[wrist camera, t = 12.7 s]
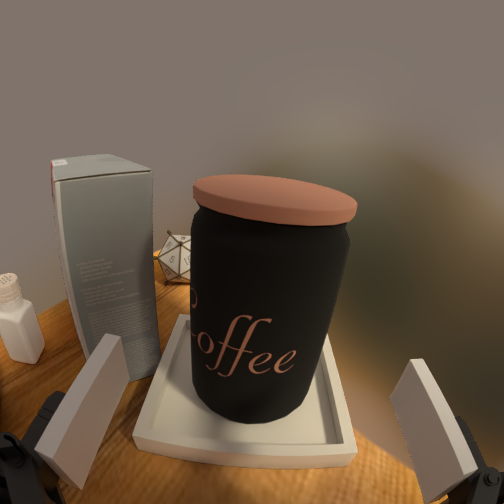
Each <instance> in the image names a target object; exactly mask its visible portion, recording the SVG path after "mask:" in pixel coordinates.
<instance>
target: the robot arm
mask: <svg viewBox="0 0 504 504" xmlns="http://www.w3.org/2000/svg"><path fill="white" fill-rule="evenodd" d="M129 380H130V377H129V373H128V369H127V364H126V360H125V355H124V351H123V346H122V341H121V336H116V335H112V334H107V333H105V335H104V336H103V338H102V339H101V341H100V342H99V344H98V345H97V347H96V348H95V350H94V351H93V353H92V354H91V356H90V357H89V359H88V360H87V362H86V363H85V365H84V366H83V368H82V369H81V371H80V373H79V374H78V376H77V377H76V379H75V380H74V382H73V384H72V385H71V387H70V388H69V390H68V392H67V393H66V394H65V393H62V392H60V391H55V392H54V393H53V394H51V395H50V396H49V397H48V398H47V399H46V401H45V402H44V404H43V405H42V409H40V410H39V412H38V413H37V416H36V417H35V418H34V420H33V422H32V423H31V425H30V427H29V428H28V430H27V432H26V433H25V435H24V437H23V439H22V440H21V442H20V441H19V440H18V439H17V437H16V436H15V435H14V434H11V433H9V432H2V433H0V504H66V502H65V499H64V497H63V494H62V492H61V489H60V486H59V484H58V483H57V482H58V480H59V478H61V479H62V480H63V481H64V482H65V483H66V484H68V485H71V486H73V487H75V488H78V489H80V490H82V489H83V486H84V484H85V481H86V479H87V476H88V474H89V471H90V469H91V466H92V464H93V461H94V459H95V456H96V454H97V452H98V449H99V447H100V445H101V442H102V440H103V438H104V435H105V433H106V431H107V428H108V426H109V424H110V421H111V419H112V417H113V415H114V413H115V410H116V408H117V406H118V404H119V401H120V399H121V397H122V395H123V393H124V391H125V388H126V386H127V384H128V382H129ZM389 399H390V401H391V404H392V406H393V409H394V412H395V414H396V417H397V420H398V423H399V425H400V428H401V431H402V434H403V437H404V439H405V442H406V445H407V448H408V451H409V454H410V457H411V460H412V463H413V467H414V470H415V473H416V476H417V479H418V483H419V486H420V489H421V493H422V496H423V500H424V503H425V504H429V503H432V502H434V501H437V500H440V499H441V498H442V497H444V496H445V495H446V494H447V495H448V498H447V499H446V500H445V501H443V502H442V503H440V504H503V503H504V472H499V471H498V470H497V469H495V468H493V467H487V466H486V464H485V462H484V459H483V457H482V455H481V453H480V450H479V448H478V446H477V444H476V442H475V441H474V438H473V436H472V434H470V433H471V432H470V430H469V428H468V426H467V424H466V423H465V421H464V420H463V419H462V418H460V416H458V417H454V416H453V414H452V412H451V410H450V408H449V406H448V404H447V402H446V400H445V398H444V396H443V394H442V392H441V391H440V389H439V387H438V385H437V383H436V381H435V380H434V378H433V376H432V374H431V372H430V371H429V369H428V367H427V365H426V364H425V362H424V360H423V359H410V361H409V363H408V365H407V367H406V369H405V371H404V372H403V374H402V376H401V378H400V380H399V382H398V383H397V385H396V387H395V389H394V391H393V392H392V394H391V396H390V398H389Z"/></svg>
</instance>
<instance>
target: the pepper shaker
mask: <svg viewBox="0 0 504 504" xmlns="http://www.w3.org/2000/svg"><path fill="white" fill-rule="evenodd" d="M0 335H1V337H2V340H3V342H4V345H5V347H6V349H7V351H8V354H9V356H10V358H11V359H12V360H14V361H18V362H23V363H28V364H36V363H37V361H38V359H39V357H40V355H41V353H42V351H43V349H44V347H45V341H44V338H43V335H42V332H41V329H40V326H39V323H38V320H37V317H36V314H35V310H34V307H33V304H32V303H31V302H30V301H28V300H25V299H22V296H21V289H20V286H19V282H18V278H17V276H16V274H13V273H7V274H3V275H0Z"/></svg>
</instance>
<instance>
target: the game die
mask: <svg viewBox="0 0 504 504" xmlns="http://www.w3.org/2000/svg"><path fill="white" fill-rule="evenodd" d="M167 233H168V234H169V237H168V239H167V240H166V242H165V244H164V246H163V248H162V250H161V251H160V253H159V255H158V257H156V256H154V257H153V259H154V260H156V259H158V261H159V264H160V266H161V268H162V270H163V272H164V274H165V277H166V279H167V281H166V282H165V285H168V282H169V281H170V282H184V283H190V244H191V235H176V234H171V232H170V231H169V230H168V231H167Z"/></svg>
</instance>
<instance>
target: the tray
mask: <svg viewBox="0 0 504 504" xmlns="http://www.w3.org/2000/svg"><path fill="white" fill-rule="evenodd" d="M132 436H133V439H134V441H135V444H136V446H137V448H138V450H141V451H145V452H149V453H153V454H157V455H162V456H167V457H172V458H177V459H182V460H188V461H194V462H200V463H207V464H215V465H224V466H234V467H246V468H264V469H313V468H330V467H343V466H348V465H349V463H350V462H351V461H352V460H353V458H354V457H355V456H356V454H357V453H358V450H357V446H356V442H355V437H354V433H353V429H352V425H351V421H350V417H349V412H348V409H347V405H346V401H345V397H344V393H343V389H342V385H341V381H340V378H339V374H338V370H337V367H336V363H335V359H334V356H333V352H332V349H331V345H330V342H329V338H328V335H326V339H325V342H324V345H323V348H322V352H321V355H320V358H319V361H318V364H317V367H316V370H315V373H314V376H313V379H312V382H311V385H310V388H309V391H308V393H307V395H306V397H305V399H304V400H303V402H302V404H301V405H300V406H299V407H298V408H297V409H295V410H294V411H293V412H291V413H290V414H289V415H287V416H286V417H284V418H281V419H278V420H275V421H272V422H269V423H265V424H243V423H239V422H234V421H230V420H228V419H226V418H224V417H222V416H220V415H219V414H217V413H215V412H213V411H211V410H210V409H209V407H208V406H207V405H206V404H205V403H204V402H203V401H202V400H201V399H200V398H199V397H198V395H197V393H196V390H195V388H194V385H193V383H192V365H191V335H190V315H186V314H179V317H178V319H177V321H176V324H175V326H174V328H173V331H172V333H171V336H170V338H169V341H168V343H167V345H166V348H165V350H164V353H163V355H162V358H161V360H160V363H159V365H158V368H157V370H156V373H155V375H154V378H153V380H152V383H151V386H150V388H149V391H148V393H147V396H146V399H145V401H144V404H143V407H142V409H141V412H140V415H139V417H138V420H137V423H136V425H135V428H134V431H133V434H132Z"/></svg>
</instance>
